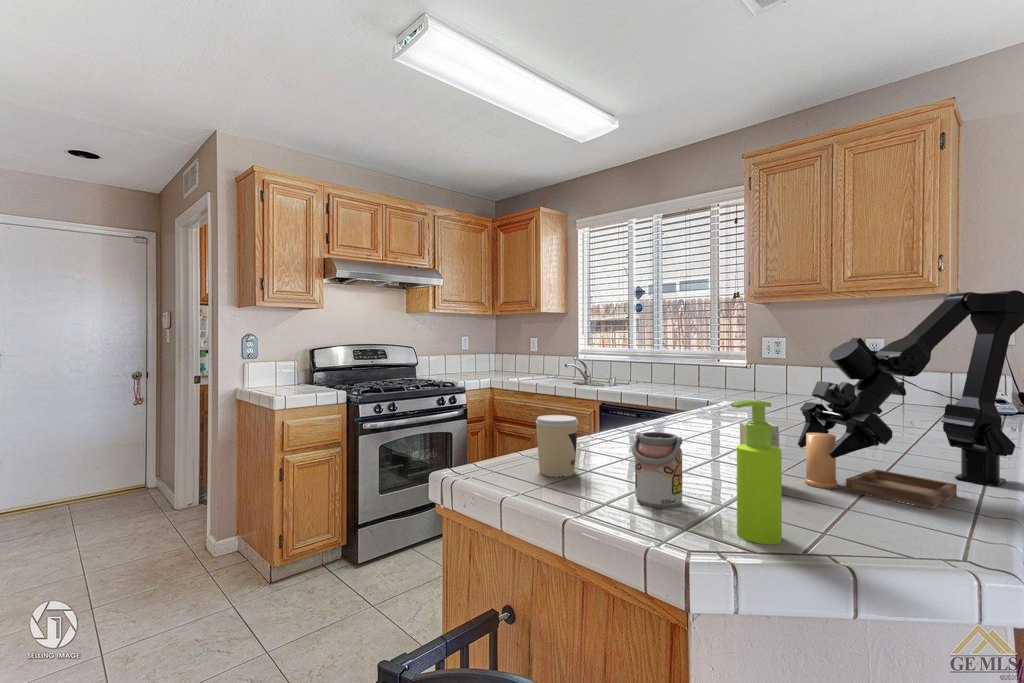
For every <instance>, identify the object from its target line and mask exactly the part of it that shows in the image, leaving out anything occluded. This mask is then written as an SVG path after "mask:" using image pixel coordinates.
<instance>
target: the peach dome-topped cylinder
mask: <svg viewBox="0 0 1024 683" xmlns="http://www.w3.org/2000/svg"><path fill="white" fill-rule="evenodd" d="M836 437H837V436H836V435H834V434H831V433H827V434H825V433H806V446H805V449H806V450H805V457H806V459H805V460H806V461H805V470H806V474H805V477H804V483H805V485H807V484H808V485H807V486H809V485H810V487H812V486H814V488H817V487H820V488H819V489H824V488H834V489H837V488H838V481H837V466H836V465H837V462H836V460H837V457H836V458H832V457H831V456H830V455H829V453H830V451H831V450H832V448H833V447H834V446H835V444H836V443H837V439H836ZM836 487H837V488H836Z"/></svg>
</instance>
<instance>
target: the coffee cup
mask: <svg viewBox="0 0 1024 683" xmlns="http://www.w3.org/2000/svg"><path fill="white" fill-rule="evenodd" d="M535 424H536V440H537V453H538V457H537V458H538V470H539V473H540V474H541V475H543V476H546V475H547V476H546V477H552V476H556V477H555V478H561V476H565V477H569V475H570V476H572V474H573V475H574V474H575V469H576V457H577V456H576V455H577V439H578V425H579V420H578V418H577V417H576V416H573V415H564V414H550V415H549V414H546V415H540V416H539V415H538V416H537V418H536V420H535ZM558 476H560V477H558Z"/></svg>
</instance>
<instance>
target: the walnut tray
mask: <svg viewBox="0 0 1024 683" xmlns="http://www.w3.org/2000/svg"><path fill="white" fill-rule="evenodd" d="M957 485H958V484H957V483H953V482H945V481H941V480H937V479H936V480H935V479H930V478H924V477H920V476H915V475H914V476H913V475H909V474H903V473H899V472H891V471H887V470H882V469H876V468H873V469H871V470H867V471H864V472H862V473H860V474H857V475H854V476H850V477H847V478H846V479H845V486H846V487H845V490H846V491H847V490H848V492H851V491H853V492H852V493H856V492H858V493H857V494H860V493H863V494H862V495H865V494H868V495H867V496H869V495H872V496H871V497H874V496H876V497H875V498H878V497H880V498H879V499H883V498H886V499H885V500H887V499H890V500H889V501H891V500H895V501H894V502H896V501H900V502H904V503H903V504H905V503H909V504H914V505H917V506H916V507H918V506H922V507H925V508H924V509H927V508H930V509H929V510H931V509H932V510H934V509H936V508H937V506H938V507H940V506H941V505H943V504H945V503H946V501H947V502H948V500H949V501H951V500H953V499H954V498H955V496H956V497H957V496H958V495H957V492H958V490H957V488H958V487H957ZM900 502H899V503H900ZM944 502H945V503H944ZM942 503H943V504H942ZM909 504H908V505H909ZM914 505H913V506H914ZM939 505H940V506H939ZM922 507H921V508H922ZM935 507H936V508H935ZM933 508H934V509H933Z"/></svg>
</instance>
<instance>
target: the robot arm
mask: <svg viewBox="0 0 1024 683" xmlns="http://www.w3.org/2000/svg"><path fill="white" fill-rule="evenodd" d="M969 315H970V319H969V320H970V322H971V324H972V325H973V327H974V330H975V331H976V335H975V339H974V344H973V347H972V352H971V357H970V360H969V365H968V369H967V374H966V377H965V381H964V382H965V383H964V386H963V390H962V395H961V398H960V399H959V400H958V401H957V402H956V403H955V404H954V403H953V404H952V403H947V404H946V405H945V407H944V414H943V417H942V418H941V420H940V422H941V423H942V430H943V432H944V433H945V436H946V438H947V441H948V444H949V446H950V447H952V448H958V449H960V453H961V454H960V455H961V456H960V458H961V459H960V465H961V466H960V473H959V474H957V475H954V479H956V480H960V481H967V482H971V483H975V484H983V485H986V486H987V485H989V486H992V487H993V486H994V487H999V486H1001V485H1002V484H1004V483H1006V481H1007V479H1006V478H1002V477H1000V476H1001V474H1000V472H1001V470H1000V469H1001V466H1000V465H1001V463H1000V462H1001V460H1000V459H1001V457H1008V456H1013V454H1014V451H1015V448H1016V444H1015V443H1014V442H1013V441H1012V439H1010V438H1009V437H1008V436H1007V435H1006V434H1005V433H1004V432H1003V430H1002V422H1003V421H1002V420H1003V418H1002V416H1001V415H1000V412H999V410H998V409H997V406H996V399H997V394H998V390H999V385H1000V382H1001V377H1002V373H1003V369H1004V365H1005V360H1006V355H1007V352H1008V348H1009V345H1010V344H1009V342H1010V340H1011V336H1012V335H1013V334H1014V333H1015V332H1016V331H1017V330H1018V329H1019V328H1020V327H1021V326H1023V325H1024V292H1022V291H1020V290H1017V289H1015V290H1014V289H1013V290H1004V291H1003V290H1002V291H992V292H984V293H982V292H981V293H980V292H973V291H966V292H956V293H950V294H949V295H947V296H945V297H944V299H943V300H942V302H941V303H940V304H939V305H938V306H937V307H936V308H935V309H933V311H932V312H930V314H929V315H927V316H926V318H924V319H923V320H922V321H921V322H920V323H919V324H918V325H917V326H916V327H914V328H913V330H911V331H910V332H909V333H908V334H906V335H904V336H903V337H902V338H899V339H897V340H894V341H892V342H890V343H887V345H885V346H883V347H882V348H880V349H879V350H878V351H876V353H874V352H873V351H872V350H871V349H870V348H869V346H868V345H867V344H866V342H865V341H864V339H862V338H861V337H852V338H851V339H850V340H849V341H846V342H844V343H841V344H840V345H838V346H837V347H834V348H833V349H832V350H831V351H830V353H829V354H828V355H829V356H828V357H829V358H828V359H830V361H831V362H832V363H833V364H834V365H835V366H836V367H837V368H838V369H839V370H840V371H841V372H842V373H843V374H844V376H846V377H847V379H849V380H858V381H857V382H856V383H855V384H852V383H850V382H845V381H842V382H840V383H839V384H838V383H833V382H829V381H821V380H818V381H817V382H816V384H815V386H814V388H813V390H812V393H811V396H812V397H814V398H819V399H820V400H822V401H824V402H827V403H825V405H826V407H825V405H823V404H822V403H817V402H812V401H809V402H808V401H806V402H804V404H803V405H802V406H801V407H800V408H799V410H800V411H801V412H802V413H801V414H802V416H803V417H804V419H805V423H804V426H803V429H802V432H801V434H800V437H799V438H798V442H797V446H798V447H799V448H802V449H803V448H804V447H805V448H806V433H825V434H830V431H829V430H832V429H834V427H835V426H836V424H837V425H840V426H845V432H844V433H843V434H842V436H841V437H840V438H839V440H837V441H836V444H835V446H834V447H833V448H832V450H831V451H830V453H829V455H830V456H831V457H832V458H836V459H837V458H838V457H841V456H845V455H848V454H851V453H853V452H857V451H860V450H863V449H867V448H870V447H878V446H879V445H880V444H881V445H886V446H887V444H889V442H890V441H891V440H892V439H893V430H892V428H891V427H889V425H887V423H886V422H885V421H884V420H883V419H882V418H881V417H880V416H879V415H880V414H881V413H882V412H883V409H882V408H881V406H882V405H883V404H884V403H885V401H887V400H888V399H889V397H890V396H891V395H896V396H902V397H905V396H906V395H907V390H906V388H905V382H904V381H898V380H897V379H896V378H895V376H896V377H908V378H909V377H912V378H913V377H917V376H918V375H920V374H921V373H922V372H923V371H924V369H925V368H926V366H928V364H929V363H930V362H931V357H932V351H933V350H934V348H936V346H938V345H939V344H940V343H941V342H943V340H944V339H945V338H946V337H947V336H948V335H949V334H951V333H952V331H954V330H955V328H957V327H958V326H959V325H960V324H961V323H962V322H963V321H964V320H965V319H966V318H968V317H969ZM827 407H828V409H831V410H832V411H830V410H828V409H827Z"/></svg>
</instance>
